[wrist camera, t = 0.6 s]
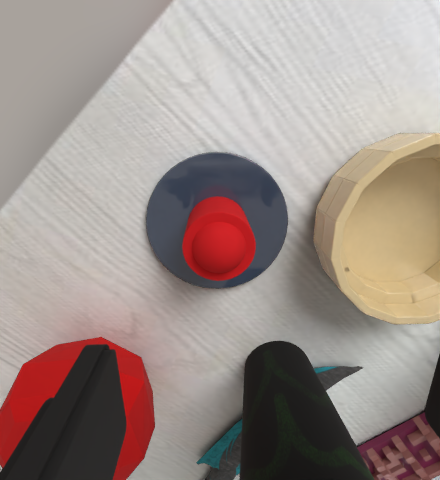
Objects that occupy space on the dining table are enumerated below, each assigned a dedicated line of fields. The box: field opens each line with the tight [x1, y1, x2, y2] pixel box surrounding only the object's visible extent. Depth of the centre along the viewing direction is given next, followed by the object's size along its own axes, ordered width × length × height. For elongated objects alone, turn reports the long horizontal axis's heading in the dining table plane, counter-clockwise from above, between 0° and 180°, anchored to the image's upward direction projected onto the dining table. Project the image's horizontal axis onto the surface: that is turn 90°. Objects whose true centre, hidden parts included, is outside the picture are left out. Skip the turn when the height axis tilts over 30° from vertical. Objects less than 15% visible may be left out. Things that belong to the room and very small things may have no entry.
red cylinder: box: [182, 196, 256, 281], centre depth 19 cm, size 4×4×6 cm
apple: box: [0, 337, 155, 480], centre depth 21 cm, size 11×11×10 cm
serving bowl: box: [313, 133, 440, 324], centre depth 21 cm, size 12×12×4 cm
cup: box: [239, 341, 375, 480], centre depth 21 cm, size 8×8×12 cm
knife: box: [197, 366, 363, 480], centre depth 29 cm, size 24×1×5 cm
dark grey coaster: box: [146, 152, 288, 288], centre depth 22 cm, size 10×10×1 cm
